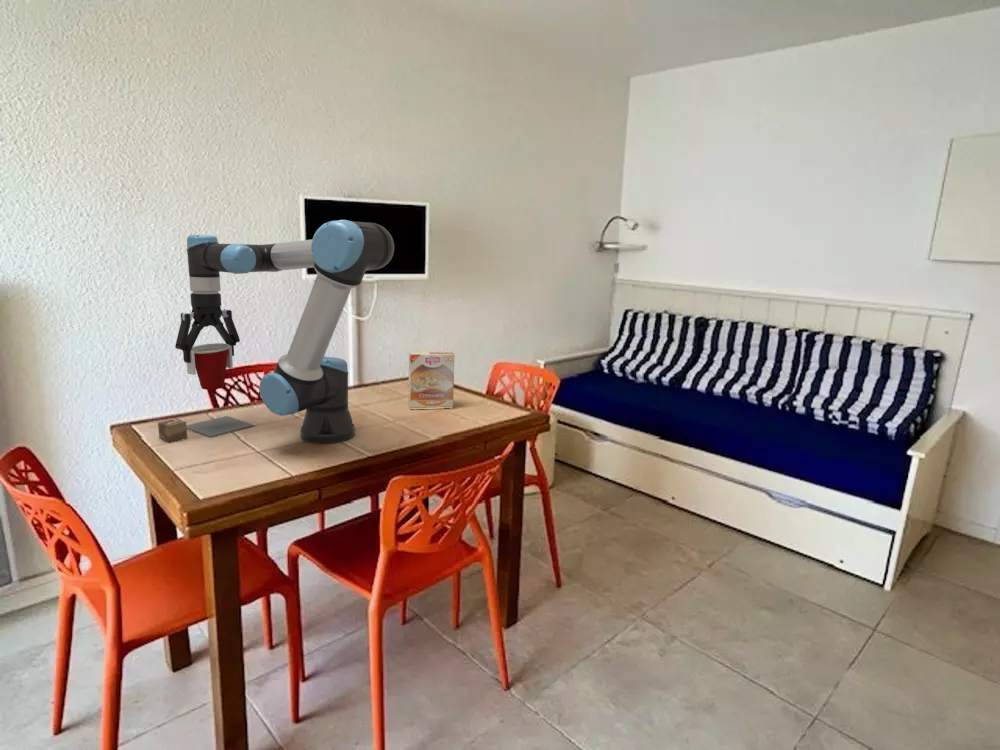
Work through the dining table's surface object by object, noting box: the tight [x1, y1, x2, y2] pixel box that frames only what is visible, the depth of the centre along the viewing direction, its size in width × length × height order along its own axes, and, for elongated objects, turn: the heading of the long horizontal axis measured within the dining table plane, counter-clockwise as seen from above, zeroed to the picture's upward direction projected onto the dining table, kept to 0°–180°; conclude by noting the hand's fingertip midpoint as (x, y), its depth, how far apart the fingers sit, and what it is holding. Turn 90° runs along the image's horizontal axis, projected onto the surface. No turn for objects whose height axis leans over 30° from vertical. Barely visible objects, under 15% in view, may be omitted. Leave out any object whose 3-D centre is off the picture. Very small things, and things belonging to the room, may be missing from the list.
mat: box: [186, 415, 255, 438], centre depth 174 cm, size 14×14×1 cm
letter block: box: [157, 417, 188, 444], centre depth 162 cm, size 5×5×5 cm
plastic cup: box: [191, 342, 230, 391], centre depth 166 cm, size 11×11×12 cm
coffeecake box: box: [408, 350, 455, 410], centre depth 203 cm, size 15×7×20 cm, turn 104°
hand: (210, 370), depth 167 cm, fingers closed on plastic cup, 11 cm apart
